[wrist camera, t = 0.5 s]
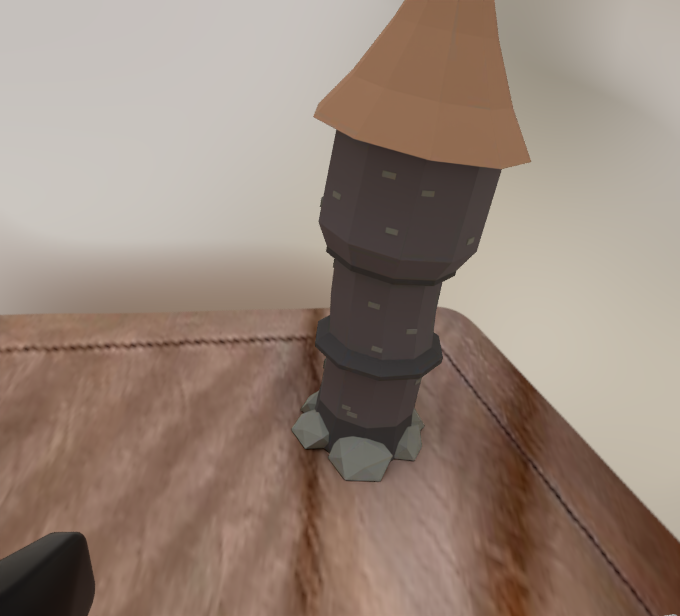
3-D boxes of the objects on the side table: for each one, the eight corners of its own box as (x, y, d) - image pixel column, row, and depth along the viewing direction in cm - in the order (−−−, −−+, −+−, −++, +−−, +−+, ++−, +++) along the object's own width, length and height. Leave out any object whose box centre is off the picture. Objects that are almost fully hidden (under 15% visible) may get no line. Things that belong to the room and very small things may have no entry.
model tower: (430, 380, 41) (579, -175, 27) (449, 504, 32) (696, -260, 18) (288, 359, 41) (364, -215, 27) (263, 477, 31) (363, -324, 17)
